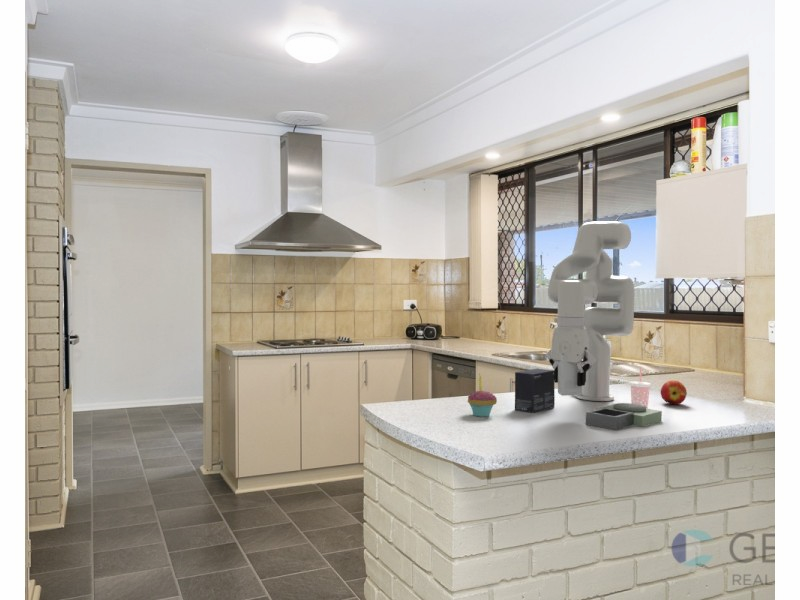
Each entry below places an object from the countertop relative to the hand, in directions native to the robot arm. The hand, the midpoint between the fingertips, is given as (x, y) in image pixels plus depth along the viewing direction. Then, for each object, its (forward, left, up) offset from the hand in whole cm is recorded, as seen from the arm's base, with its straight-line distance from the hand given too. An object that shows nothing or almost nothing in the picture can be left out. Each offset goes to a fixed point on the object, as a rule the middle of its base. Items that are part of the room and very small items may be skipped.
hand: (569, 383), depth 186 cm
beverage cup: (+8, +27, -10) cm, 30 cm away
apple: (+9, +49, -10) cm, 51 cm away
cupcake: (-19, -17, -10) cm, 27 cm away
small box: (-15, +4, -11) cm, 19 cm away
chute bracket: (+12, +1, -10) cm, 16 cm away
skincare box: (0, 0, -4) cm, 4 cm away
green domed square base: (+12, +12, -10) cm, 20 cm away
